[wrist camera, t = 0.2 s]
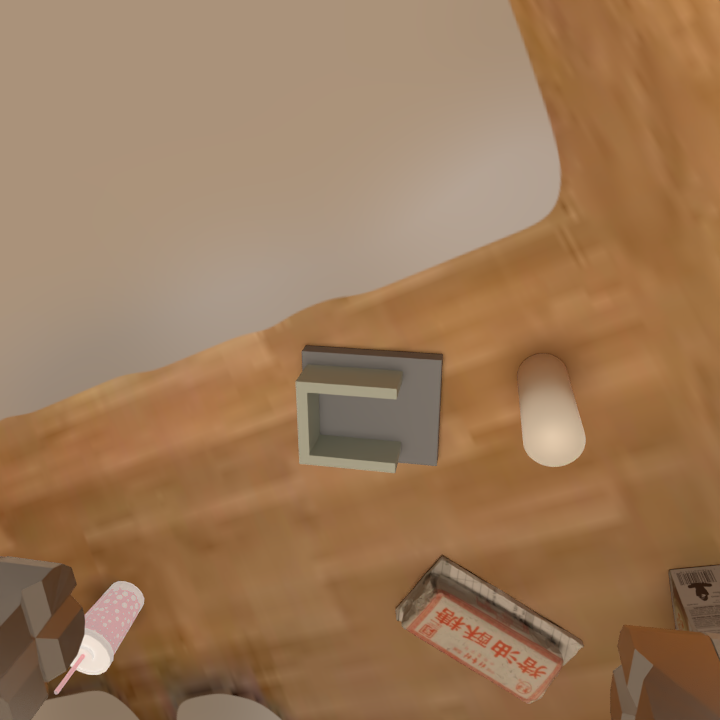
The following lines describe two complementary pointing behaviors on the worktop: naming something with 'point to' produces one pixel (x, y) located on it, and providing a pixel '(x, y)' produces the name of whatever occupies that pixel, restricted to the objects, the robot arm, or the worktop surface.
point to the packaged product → (486, 630)
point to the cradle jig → (368, 408)
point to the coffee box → (696, 598)
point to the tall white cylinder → (549, 412)
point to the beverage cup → (106, 629)
